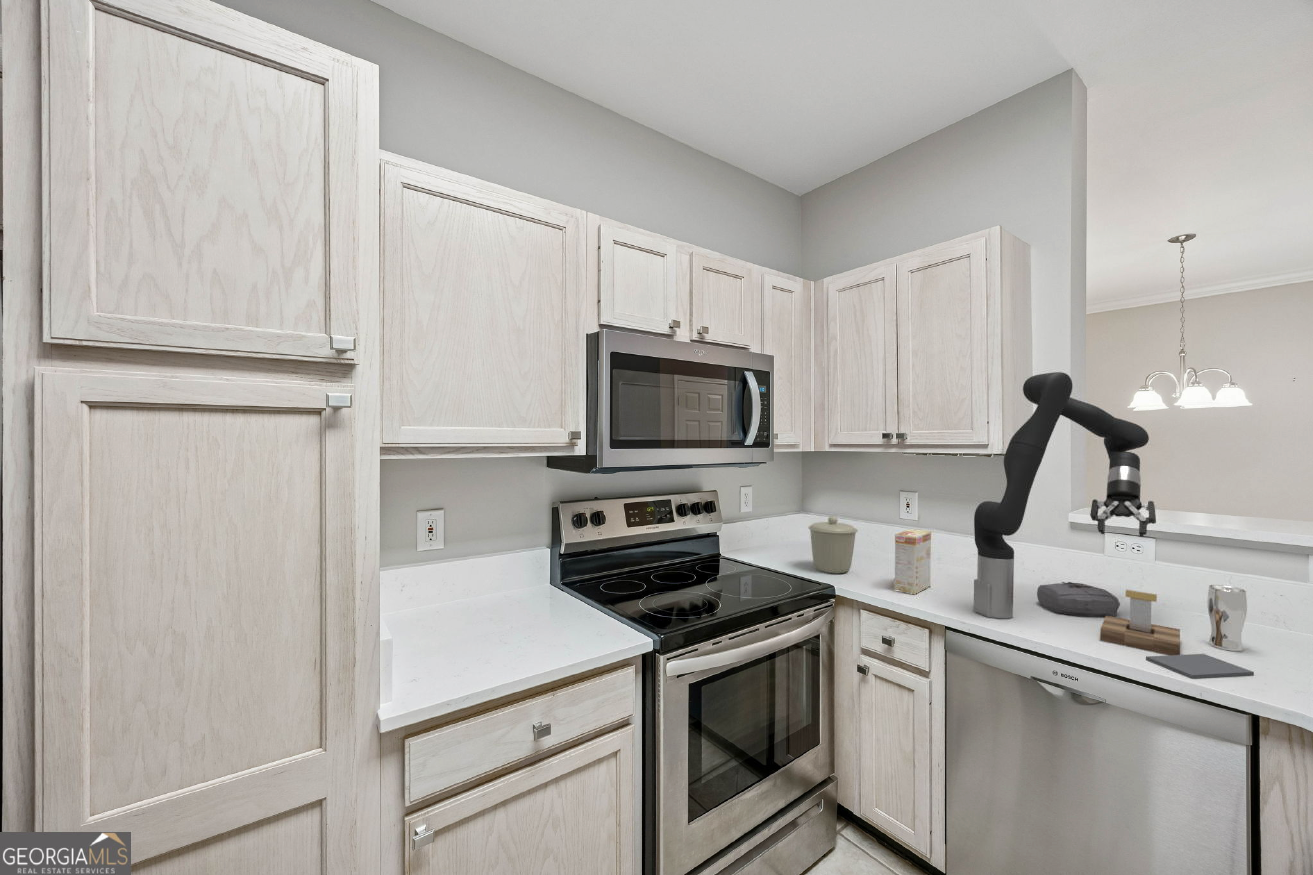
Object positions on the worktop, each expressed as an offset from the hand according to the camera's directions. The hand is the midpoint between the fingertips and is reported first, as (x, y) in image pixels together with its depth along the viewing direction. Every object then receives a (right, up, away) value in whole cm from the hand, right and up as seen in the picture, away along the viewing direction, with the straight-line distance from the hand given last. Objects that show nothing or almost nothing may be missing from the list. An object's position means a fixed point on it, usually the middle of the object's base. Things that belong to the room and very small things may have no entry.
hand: (1121, 534), depth 155 cm
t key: (-6, -26, -12) cm, 29 cm away
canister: (-64, -24, +57) cm, 89 cm away
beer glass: (+13, -26, -16) cm, 33 cm away
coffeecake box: (-44, -25, +33) cm, 60 cm away
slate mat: (-7, -26, -29) cm, 39 cm away
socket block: (-6, -26, -12) cm, 29 cm away
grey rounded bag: (-3, -26, +12) cm, 29 cm away
